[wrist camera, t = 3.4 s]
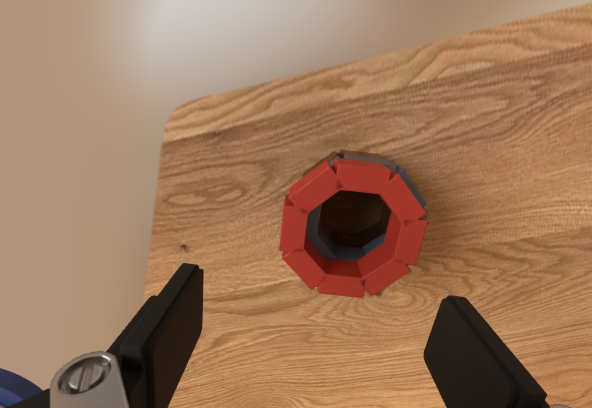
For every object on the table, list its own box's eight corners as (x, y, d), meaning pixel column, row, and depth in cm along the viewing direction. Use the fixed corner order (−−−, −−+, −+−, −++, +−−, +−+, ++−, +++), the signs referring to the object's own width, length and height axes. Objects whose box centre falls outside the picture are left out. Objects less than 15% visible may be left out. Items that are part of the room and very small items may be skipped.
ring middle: (291, 256, 25) (290, 271, 22) (305, 148, 22) (306, 153, 19) (397, 268, 25) (407, 285, 23) (425, 163, 22) (440, 170, 20)
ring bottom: (291, 243, 27) (290, 256, 25) (304, 144, 24) (304, 148, 22) (388, 255, 27) (396, 269, 25) (413, 158, 24) (424, 164, 22)
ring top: (277, 270, 22) (275, 289, 20) (290, 152, 19) (288, 158, 17) (395, 282, 22) (405, 302, 20) (424, 167, 20) (441, 175, 17)
